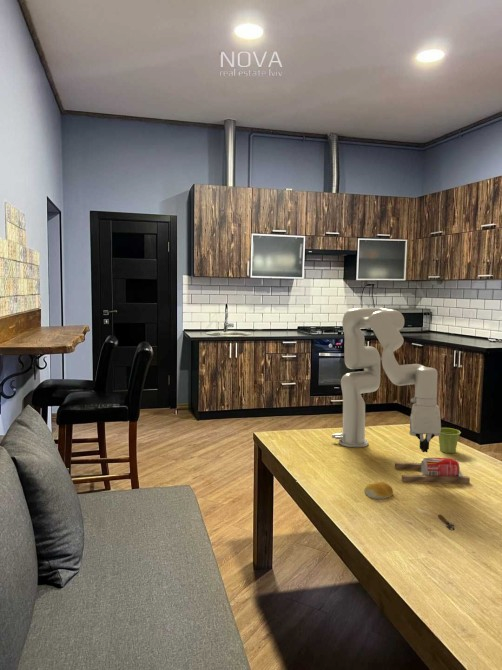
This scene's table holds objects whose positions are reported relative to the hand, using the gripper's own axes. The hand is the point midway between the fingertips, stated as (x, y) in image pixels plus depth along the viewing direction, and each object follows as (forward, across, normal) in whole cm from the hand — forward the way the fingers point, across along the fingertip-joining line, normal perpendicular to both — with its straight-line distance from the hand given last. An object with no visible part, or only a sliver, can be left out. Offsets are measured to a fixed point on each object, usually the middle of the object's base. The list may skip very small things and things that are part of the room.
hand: (424, 451), depth 187 cm
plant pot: (+9, +17, +28) cm, 34 cm away
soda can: (+5, -1, -3) cm, 6 cm away
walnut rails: (+9, +2, 0) cm, 9 cm away
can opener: (+10, -3, -38) cm, 39 cm away
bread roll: (+10, -19, -18) cm, 28 cm away
